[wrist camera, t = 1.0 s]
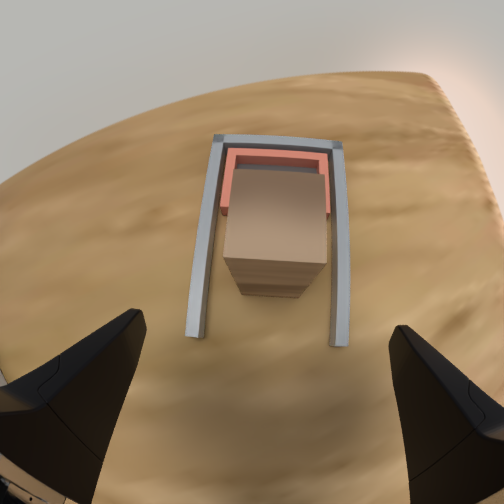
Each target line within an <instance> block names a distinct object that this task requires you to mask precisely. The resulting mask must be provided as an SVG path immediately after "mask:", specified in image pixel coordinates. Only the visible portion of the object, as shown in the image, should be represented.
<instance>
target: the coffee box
mask: <svg viewBox="0 0 504 504" xmlns="http://www.w3.org/2000/svg"><path fill="white" fill-rule="evenodd" d="M4 385H7V382H6V380H5V378H4V376H3V374H2V372H1V370H0V386H4Z"/></svg>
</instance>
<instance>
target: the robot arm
mask: <svg viewBox="0 0 504 504" xmlns="http://www.w3.org/2000/svg"><path fill="white" fill-rule="evenodd" d="M146 331H147V328H146V323H145V319H144V316H143V312H142V311H141V310H140V309H133V308H131V309H129V310H127V311H126V312H124V313H123V314H121V315H119V316H118V317H116V318H115V319H113V320H112V321H110V322H109V323H107V324H105V325H104V326H102V327H101V328H99V329H98V330H96V331H95V332H93V333H91V334H90V335H88V336H87V337H85V338H84V339H82V340H81V341H79V342H78V343H76V344H74V345H73V346H71V347H70V348H68V349H67V350H65V351H64V352H62V353H61V354H60V355H58V356H56V357H54V358H53V359H51V360H50V361H48V362H47V363H45V364H43V365H42V366H40V367H38V368H37V369H35V370H33V371H31V372H29V373H28V374H26V375H24V376H22V377H20V378H18V379H16V380H14V381H13V382H11V383H9V384H7V385H4V386H0V504H64V503H65V500H66V498H68V499H70V500H72V501H74V502H76V503H78V504H91V503H92V499H93V495H94V492H95V488H96V485H97V481H98V478H99V475H100V471H101V468H102V465H103V461H104V458H105V455H106V452H107V449H108V446H109V443H110V440H111V437H112V434H113V431H114V428H115V425H116V422H117V419H118V416H119V414H120V411H121V408H122V405H123V403H124V400H125V397H126V394H127V392H128V389H129V386H130V384H131V381H132V379H133V376H134V373H135V371H136V368H137V365H138V361H139V357H140V354H141V350H142V346H143V343H144V339H145V335H146ZM389 355H390V363H391V371H392V380H393V386H394V391H395V396H396V401H397V406H398V411H399V416H400V422H401V428H402V434H403V440H404V447H405V454H406V461H407V470H408V479H409V491H410V504H504V407H502V406H501V405H500V404H498V403H497V402H496V401H495V400H493V399H492V398H491V397H490V396H488V395H487V394H486V393H485V392H483V391H482V390H481V389H480V388H479V387H478V386H477V385H475V384H474V383H473V382H472V381H471V380H469V378H468V377H467V376H465V375H464V374H463V373H462V372H461V371H460V370H459V369H458V368H457V367H455V366H454V365H453V364H452V363H451V362H450V361H449V360H447V359H446V358H445V357H444V356H443V355H442V354H441V353H439V352H438V351H437V350H436V349H435V348H434V347H433V346H431V345H430V344H429V343H428V342H427V341H426V340H424V339H423V338H422V337H421V336H420V335H418V334H417V333H416V332H415V331H414V330H413V329H411V328H410V327H409V326H408V325H397V326H396V327H395V329H394V332H393V334H392V336H391V339H390V341H389Z"/></svg>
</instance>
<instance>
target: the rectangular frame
mask: <svg viewBox="0 0 504 504" xmlns="http://www.w3.org/2000/svg"><path fill="white" fill-rule="evenodd" d="M233 169H251V170H272V171H288V172H302V173H314V174H325V190H326V221H327V219H328V216H329V214H330V194H329V174H328V158H327V154H325V153H314V152H303V151H289V150H273V149H250V148H228V153H227V159H226V166H225V173H224V180H223V187H222V194H221V202H220V208H221V211H222V214H223V215H227V216H228V208H229V200H230V192H231V184H232V176H233Z"/></svg>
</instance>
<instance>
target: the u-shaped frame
mask: <svg viewBox="0 0 504 504" xmlns="http://www.w3.org/2000/svg"><path fill="white" fill-rule="evenodd" d="M228 148H250V149H273V150H289V151H303V152H314V153H325V154H327V158H328V161H329V174H330V193H331V221H332V296H331V324H330V343H329V346H348V341H349V318H350V240H349V217H348V200H347V187H346V175H345V164H344V155H343V146H342V142H340V141H331V140H322V139H312V138H300V137H287V136H269V135H238V134H214V138H213V143H212V148H211V153H210V159H209V164H208V170H207V175H206V181H205V187H204V193H203V199H202V205H201V212H200V218H199V225H198V231H197V238H196V245H195V253H194V260H193V268H192V276H191V284H190V293H189V302H188V311H187V321H186V331H185V336H190V337H198V338H204V328H205V318H206V307H207V298H208V288H209V279H210V270H211V261H212V252H213V244H214V236H215V228H216V220H217V213H218V205H219V198H220V191H221V184H222V177H223V170H224V163H225V157H226V155H227V153H228Z"/></svg>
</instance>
